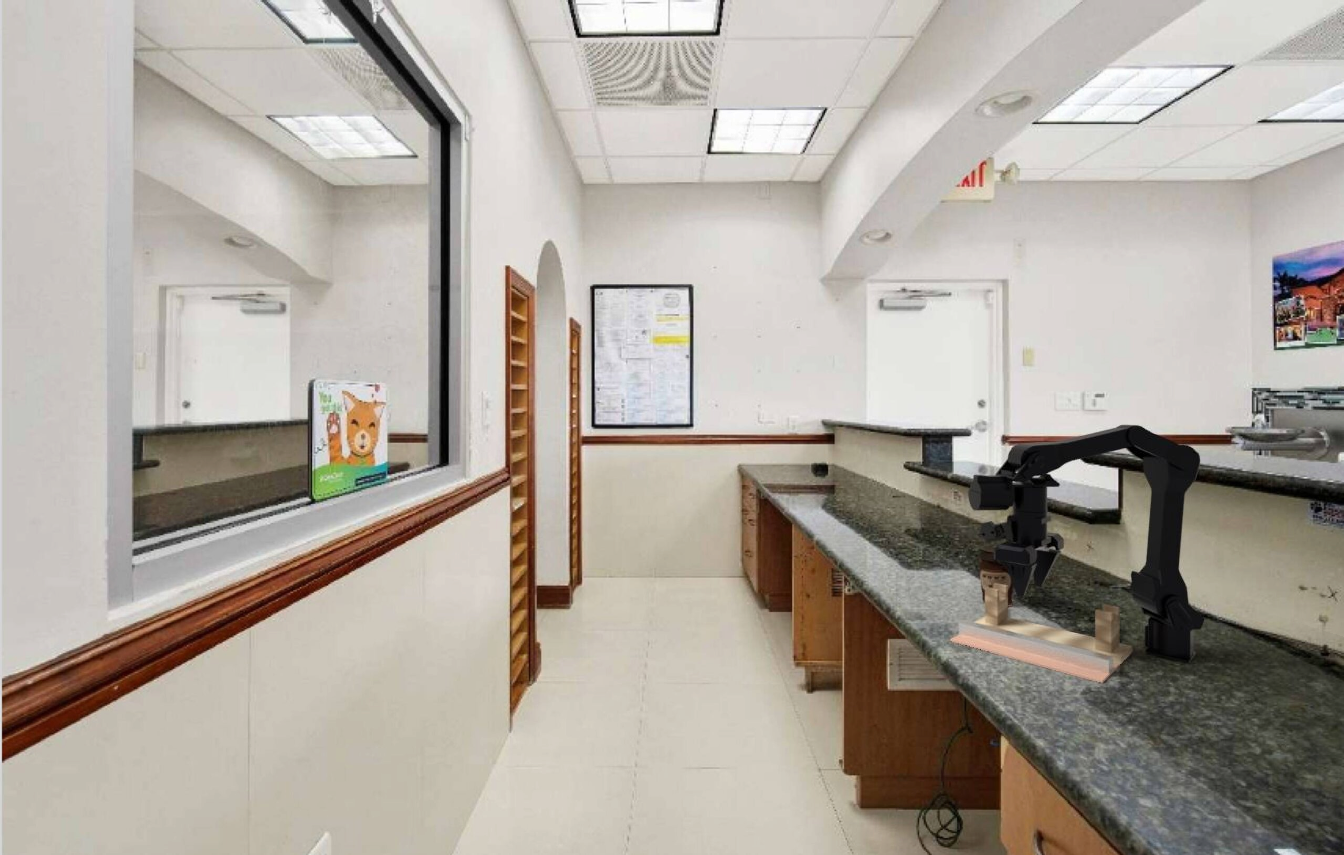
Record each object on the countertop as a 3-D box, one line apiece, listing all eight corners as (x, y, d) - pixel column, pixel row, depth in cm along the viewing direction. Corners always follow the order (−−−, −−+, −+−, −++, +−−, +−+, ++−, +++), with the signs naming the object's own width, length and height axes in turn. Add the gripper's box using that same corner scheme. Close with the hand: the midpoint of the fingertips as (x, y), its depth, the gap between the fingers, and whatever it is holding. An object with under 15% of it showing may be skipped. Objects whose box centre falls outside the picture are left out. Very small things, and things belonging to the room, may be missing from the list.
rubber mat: (1119, 666, 111) (1119, 664, 111) (1102, 683, 104) (1102, 681, 104) (972, 628, 131) (971, 626, 131) (950, 641, 124) (950, 639, 124)
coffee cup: (1014, 611, 141) (1014, 555, 140) (974, 605, 146) (974, 550, 145) (1020, 601, 148) (1020, 547, 147) (982, 595, 153) (982, 543, 152)
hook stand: (1132, 652, 117) (1132, 607, 117) (1120, 664, 112) (1120, 617, 111) (989, 618, 137) (989, 580, 136) (974, 627, 131) (973, 587, 131)
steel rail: (1112, 670, 109) (1112, 656, 108) (1108, 674, 107) (1108, 660, 107) (964, 631, 128) (964, 620, 128) (958, 634, 127) (958, 622, 127)
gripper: (1004, 500, 129) (1004, 573, 129) (964, 511, 117) (965, 592, 117) (1064, 505, 120) (1064, 584, 121) (1028, 518, 108) (1028, 606, 109)
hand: (1029, 591), depth 117 cm, fingers open, 9 cm apart
